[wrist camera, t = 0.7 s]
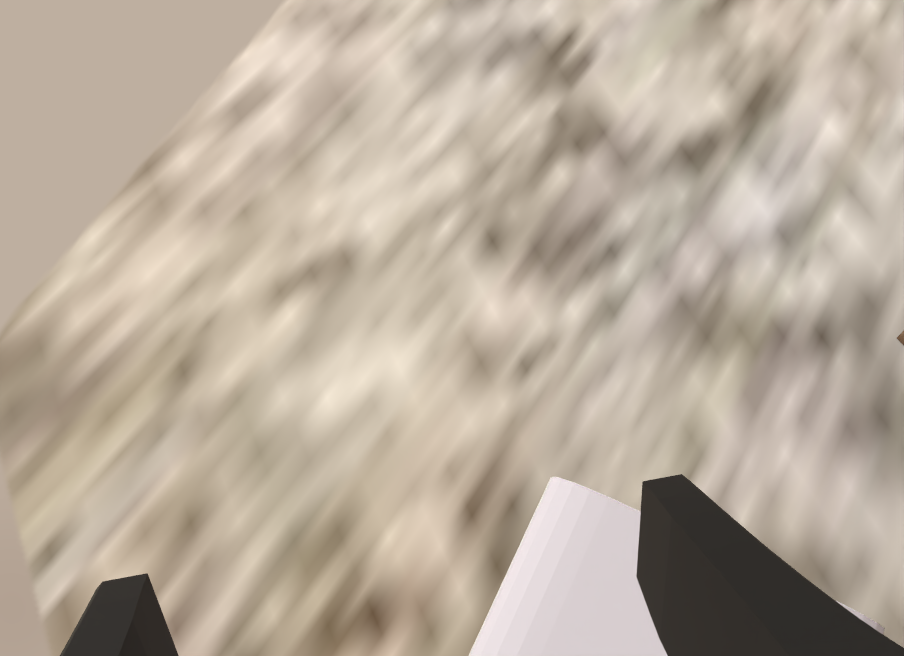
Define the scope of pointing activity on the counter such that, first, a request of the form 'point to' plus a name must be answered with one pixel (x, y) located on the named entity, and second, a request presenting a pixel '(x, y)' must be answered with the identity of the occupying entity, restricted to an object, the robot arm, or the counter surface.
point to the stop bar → (901, 337)
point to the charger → (576, 583)
